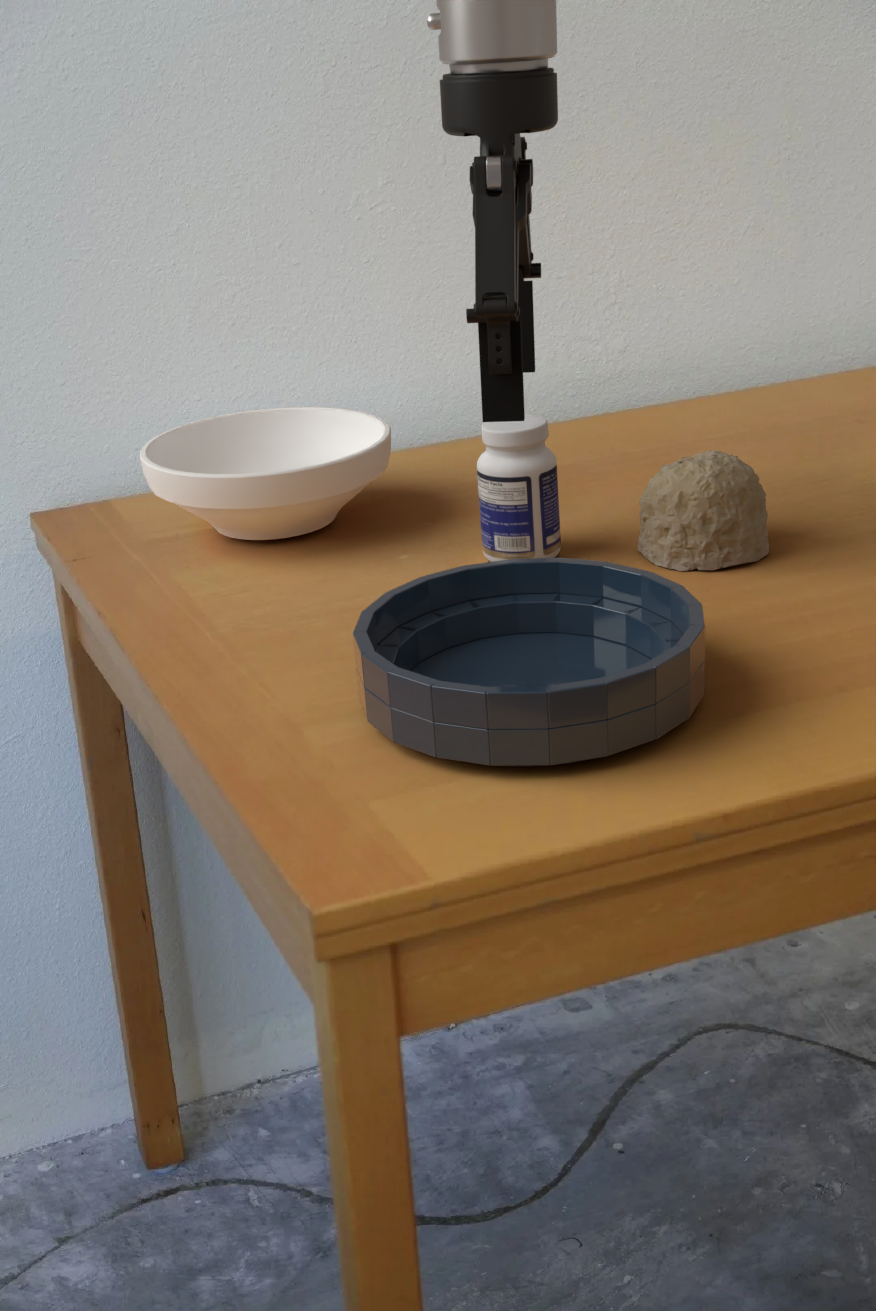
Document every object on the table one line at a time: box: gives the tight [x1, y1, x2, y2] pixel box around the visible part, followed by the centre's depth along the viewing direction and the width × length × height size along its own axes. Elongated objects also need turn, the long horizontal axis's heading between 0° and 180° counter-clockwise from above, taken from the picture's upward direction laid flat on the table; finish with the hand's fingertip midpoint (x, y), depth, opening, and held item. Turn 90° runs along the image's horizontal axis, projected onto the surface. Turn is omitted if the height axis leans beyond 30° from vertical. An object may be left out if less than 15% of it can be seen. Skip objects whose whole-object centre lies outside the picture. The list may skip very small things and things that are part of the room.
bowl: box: [139, 406, 392, 541], centre depth 116 cm, size 20×20×7 cm
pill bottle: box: [476, 413, 562, 562], centre depth 105 cm, size 6×6×10 cm
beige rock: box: [637, 449, 770, 572], centre depth 104 cm, size 9×10×10 cm
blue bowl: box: [352, 557, 706, 768], centre depth 84 cm, size 20×20×5 cm
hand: (510, 395), depth 103 cm, fingers open, 13 cm apart
